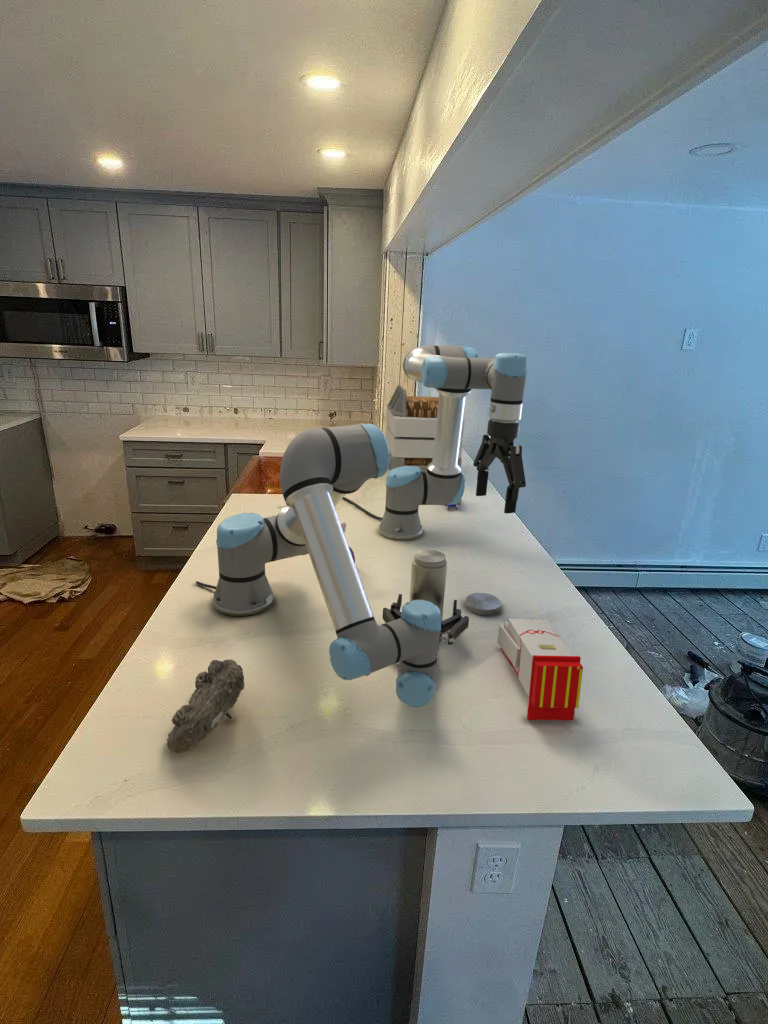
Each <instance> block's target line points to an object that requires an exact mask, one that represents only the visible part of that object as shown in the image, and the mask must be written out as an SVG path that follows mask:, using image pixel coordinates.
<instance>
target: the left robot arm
mask: <svg viewBox="0 0 768 1024" xmlns="http://www.w3.org/2000/svg"><path fill="white" fill-rule="evenodd" d="M389 463H390V453H389V447H388V443H387V440H386V434H385V433H384V432H383V431H382V429H381V428H380V427H378V425H375V424H374V423H362V422H360V423H356V424H350V425H349V424H348V425H338V426H326V427H312V428H307V429H306V430H303V431H302V432H300V433H299V434H297V435H295V437H293V438H292V439H291V441H290V442H289V444H288V445H287V447H286V448H285V450H284V452H283V456H282V458H281V462H280V469H279V483H280V491H281V493H282V497H283V500H284V502H285V506H283V507H282V508H281V509H280V511H279V512H278V513H277V514H276V515H272V516H269V517H268V516H267V517H263V516H262V515H261V514H259V513H255V512H249V513H247V512H243V513H238V514H234V515H230V516H228V517H226V518H225V519H223V520H222V521H221V522H220V523H219V524H218V526H217V528H216V540H215V543H216V544H215V545H216V549H217V562H218V579H217V584H216V585H211V584H207V583H203V582H201V581H198V580H196V581H195V584H196V585H199V586H201V587H204V588H209V589H212V590H214V593H213V598H212V599H213V608H214V609H215V611H217V612H219V613H220V614H222V615H226V616H228V617H229V616H230V617H247V616H253V615H257V614H260V613H262V612H264V611H266V610H268V609H269V608H270V607H271V606H272V605H273V602H274V593H273V589H272V587H271V585H270V582H269V580H268V578H267V575H266V564H268V563H272V562H276V561H281V560H285V559H290V558H294V557H299V556H306V555H308V556H309V560H310V562H311V564H312V567H313V570H314V573H315V576H316V579H317V582H318V584H319V587H320V590H321V593H322V596H323V599H324V602H325V605H326V608H327V610H328V613H329V617H330V619H331V622H332V624H333V627H334V631H335V635H336V639H334V640H332V641H331V643H330V645H329V647H328V654H329V656H330V657H329V662H330V665H331V668H332V669H333V671H334V673H335V674H336V675H337V676H338V677H339V678H340V679H341V680H344V681H352V680H356V679H358V678H362V677H364V676H365V677H367V676H370V675H371V674H372V673H375V672H377V671H378V672H379V671H380V670H383V669H385V668H388V667H391V666H393V665H395V664H398V670H397V677H396V680H395V693H396V696H397V698H398V700H399V701H400V702H401V703H402V704H403V705H405V706H408V707H410V708H411V707H412V708H423V707H425V706H427V705H429V704H430V703H431V702H432V701H433V699H434V696H435V692H436V690H437V671H438V660H439V650H440V642H441V641H445V642H447V645H449V646H453V645H454V642H455V640H456V639H457V638H459V636H460V635H461V634H462V633H463V632H465V631H466V630H467V629H468V628H469V623H470V622H469V621H470V617H469V616H467V615H465V616H462V609H460V608H458V599H453V604H452V605H453V606H452V616H449V617H448V618H445V619H443V620H442V621H441V613H440V610H439V608H438V607H437V606H436V605H434V604H433V603H431V602H429V601H425V600H412V601H410V600H409V601H407V602H406V603H405V604H404V605H403V606H402V603H403V600H402V599H403V593H399V594H398V597H397V601H396V602H395V601H394V602H392V603H391V605H390V608H388V607H383V608H382V620H383V622H384V623H382V624H379V625H378V623H377V621H376V617H375V616H374V613H373V610H372V608H371V604H370V602H369V599H368V596H367V593H366V591H365V588H364V585H363V583H362V580H361V577H360V574H359V571H358V568H357V566H356V562H355V563H354V560H353V557H352V554H351V552H350V549H349V547H350V546H349V544H348V541H347V538H346V535H345V533H344V532H343V529H342V527H341V525H342V523H341V521H340V519H339V515H338V513H337V510H336V508H335V507H337V505H338V504H340V502H341V500H343V497H345V496H346V495H350V494H354V493H355V492H357V491H359V489H361V488H362V486H363V485H364V484H365V483H366V482H367V481H368V480H371V479H375V480H377V479H379V478H382V477H384V476H385V475H386V474H387V472H388V471H389V469H390V467H389ZM401 607H402V608H401Z"/></svg>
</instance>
